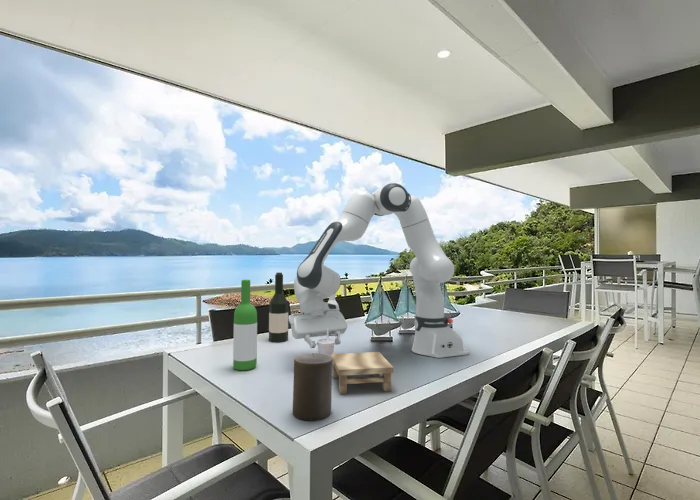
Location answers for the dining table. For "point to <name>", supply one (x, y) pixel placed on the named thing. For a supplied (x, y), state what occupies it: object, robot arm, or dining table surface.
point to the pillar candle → (312, 386)
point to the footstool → (361, 369)
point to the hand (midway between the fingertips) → (326, 345)
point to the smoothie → (326, 345)
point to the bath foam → (332, 300)
